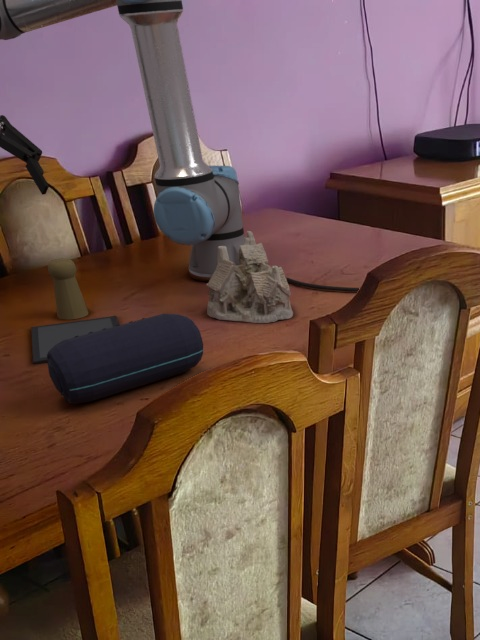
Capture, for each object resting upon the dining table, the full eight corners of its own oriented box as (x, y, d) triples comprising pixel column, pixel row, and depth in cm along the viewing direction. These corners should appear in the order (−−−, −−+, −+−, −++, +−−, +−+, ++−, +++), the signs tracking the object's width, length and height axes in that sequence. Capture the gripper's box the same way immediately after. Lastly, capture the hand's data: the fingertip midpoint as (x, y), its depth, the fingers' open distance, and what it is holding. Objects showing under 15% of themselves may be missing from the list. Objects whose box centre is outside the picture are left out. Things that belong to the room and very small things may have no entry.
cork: (61, 310, 173) (48, 256, 167) (91, 309, 173) (79, 255, 167) (54, 320, 168) (39, 264, 162) (84, 318, 168) (71, 263, 162)
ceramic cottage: (202, 306, 172) (194, 231, 164) (279, 298, 178) (275, 225, 169) (219, 334, 161) (212, 255, 152) (301, 324, 166) (299, 248, 158)
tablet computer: (116, 318, 168) (115, 315, 168) (126, 350, 152) (126, 347, 152) (31, 329, 163) (31, 326, 163) (33, 364, 148) (32, 361, 147)
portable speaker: (183, 358, 149) (173, 302, 143) (213, 373, 143) (204, 315, 137) (46, 399, 135) (29, 339, 129) (73, 418, 128) (57, 355, 123)
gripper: (12, 108, 176) (65, 197, 177) (-111, 117, 159) (-52, 215, 160) (21, 83, 170) (76, 175, 171) (-106, 89, 153) (-44, 191, 155)
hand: (14, 194), depth 166 cm, fingers open, 13 cm apart
